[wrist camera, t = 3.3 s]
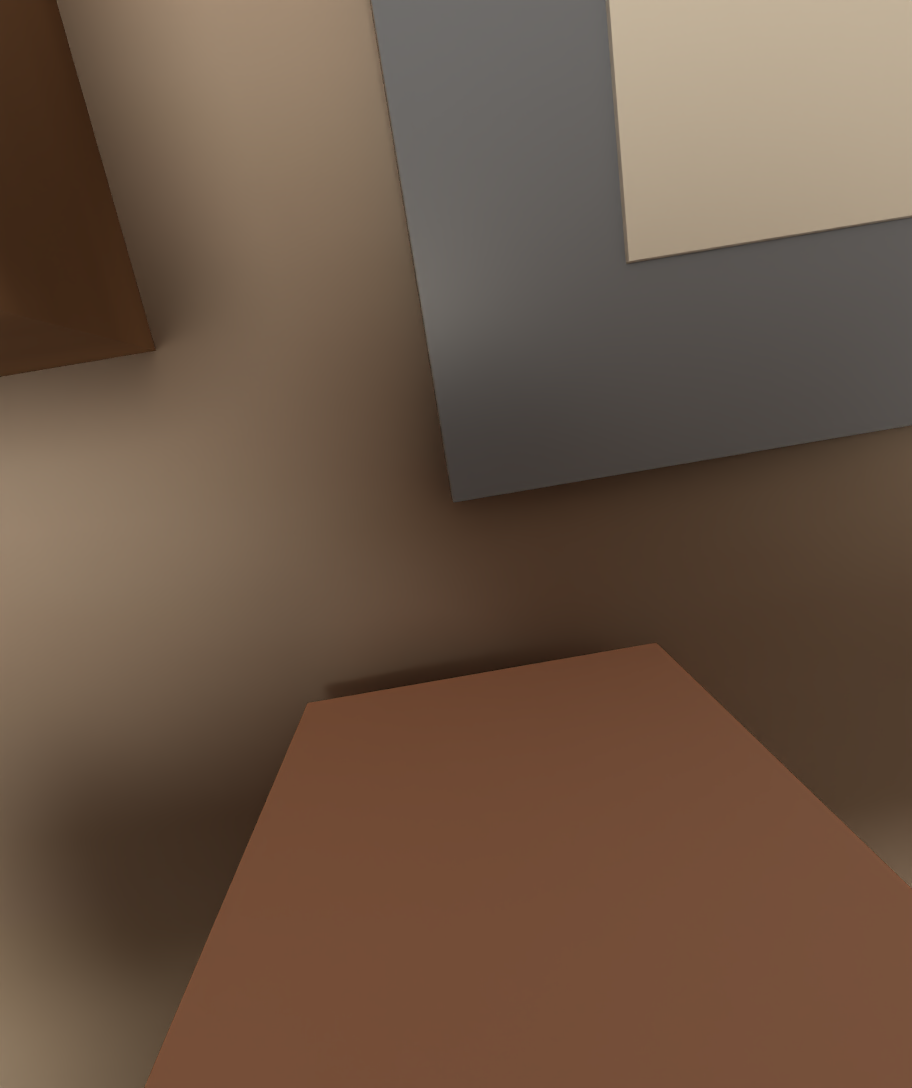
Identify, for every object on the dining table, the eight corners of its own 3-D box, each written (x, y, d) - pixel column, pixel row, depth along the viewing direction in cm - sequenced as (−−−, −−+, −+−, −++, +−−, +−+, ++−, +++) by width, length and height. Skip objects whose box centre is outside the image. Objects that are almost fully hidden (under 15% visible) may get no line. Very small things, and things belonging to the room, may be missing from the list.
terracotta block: (677, 921, 9) (1002, 1569, 4) (376, 976, 9) (310, 1710, 4) (656, 642, 7) (1084, 1057, 3) (307, 702, 7) (78, 1243, 3)
